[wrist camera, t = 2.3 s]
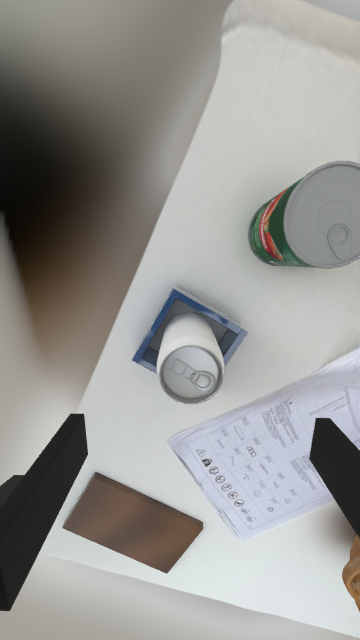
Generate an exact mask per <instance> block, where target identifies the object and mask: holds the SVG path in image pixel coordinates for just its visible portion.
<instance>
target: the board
mask: <svg viewBox="0 0 360 640" xmlns="http://www.w3.org/2000/svg"><path fill="white" fill-rule="evenodd" d="M62 528H64V529H66V530H68V531H70V532H73V533H75V534H77V535H80V536H82V537H84V538H86V539H89V540H91V541H93V542H96V543H98V544H100V545H102V546H105V547H107V548H109V549H112V550H114V551H116V552H118V553H121V554H123V555H125V556H128V557H130V558H132V559H134V560H137V561H139V562H141V563H144V564H146V565H148V566H150V567H153V568H155V569H157V570H160V571H162V572H164V573H166V574H167V573H168V572H169V571H170V569H171V568H172V567H173V566H174V564H175V563H176V562H177V561H178V559H179V558H180V557H181V556H182V554H183V553H184V552H185V551H186V550H187V548H188V547H189V546H190V545H191V543H192V542H193V541H194V540H195V538H196V537H197V536H198V535H199V533H200V532H201V531H202V530H203V523H202V522H200V521H198V520H196V519H194V518H192V517H190V516H187V515H185V514H183V513H181V512H179V511H177V510H175V509H173V508H171V507H168V506H166V505H164V504H162V503H160V502H158V501H156V500H154V499H151V498H149V497H147V496H145V495H143V494H141V493H139V492H137V491H135V490H132V489H130V488H128V487H126V486H124V485H122V484H120V483H118V482H115V481H113V480H111V479H109V478H107V477H105V476H103V475H101V474H99V473H96V472H95V474H94V475H93V477H92V479H91V480H90V482H89V484H88V485H87V487H86V488H85V490H84V492H83V493H82V495H81V497H80V498H79V500H78V501H77V503H76V505H75V506H74V508H73V510H72V511H71V513H70V515H69V516H68V518H67V519H66V521H65V523H64V525H63V527H62Z"/></svg>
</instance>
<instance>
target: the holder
mask: <svg viewBox="0 0 360 640" xmlns="http://www.w3.org/2000/svg"><path fill="white" fill-rule="evenodd" d="M176 298H177V299H179V300H180V301H182V302H184V303H186V304H187V305H189V306H191V307H192V308H194V309H196V310H198V311H199V312H201V313H203V314H204V315H206V316H208V317H210V318H211V319H213V320H215V321H216V322H218V323H220V324H222V325H223V326H225V327H227V328H228V330H227V332H226V333H225V335H224V336H223V338H222V339H221V341H220V342H219V344H218V345H219V348H220V350H221V353H222V356H223V359H224V365H226V364H227V362H228V361H229V359H230V358H231V356H232V355H233V353H234V352H235V350H236V349H237V347H238V346H239V345H240V343H241V342H242V340H243V339H244V337H245V336H246V334H247V333H248V332H247V331H246V329H245V328H244V327H243V326H242V325H241V324H240V323H239V322H237V321H236V320H234V319H232V318H231V317H229V316H227V315H226V314H224V313H222V312H220V311H219V310H217V309H215V308H214V307H212V306H210V305H209V304H207V303H205V302H204V301H202V300H200V299H198V298H197V297H195V296H193V295H192V294H190V293H188V292H187V291H185V290H183V289H181V288H180V287H178V286H176V285H174V287H173V288H172V290H171V292H170V294H169V295H168V297H167V299H166V301H165V302H164V304H163V306H162V308H161V309H160V311H159V313H158V314H157V316H156V318H155V320H154V321H153V323H152V325H151V327H150V328H149V330H148V332H147V333H146V335H145V337H144V339H143V340H142V342H141V344H140V346H139V347H138V349H137V351H136V353H135V355H134V357H133V359H132V361H134V362H136V363H138V364H140V365H142V366H144V367H145V368H147V369H149V370H151V371H153V372H155V373H157V360H158V355H159V352H157V351H155V350H153V349H152V348H150V347H148V345H149V343H150V341H151V340H152V338H153V336H154V335H155V333H156V331H157V330H158V328H159V326H160V324H161V323H162V321H163V319H164V318H165V316H166V314H167V313H168V311H169V309H170V307H171V306H172V304H173V302H174V301H175V299H176Z"/></svg>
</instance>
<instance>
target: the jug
mask: <svg viewBox="0 0 360 640" xmlns="http://www.w3.org/2000/svg"><path fill="white" fill-rule="evenodd" d="M342 578H343V581H344V584H345V586H346V588H347V590H348V592H349V593H350V595H351V596H352V597H353V598H354V599H355V602H356V605H357V607H358V609H359V611H360V538H359V537H358V535H357V534H356V535H355V537H354V541H353V545H352V548H351V550H350V561H349V562H348V563H347V564H346V565H345V567H344V569H343V573H342Z"/></svg>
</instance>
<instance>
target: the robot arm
mask: <svg viewBox="0 0 360 640" xmlns="http://www.w3.org/2000/svg"><path fill="white" fill-rule="evenodd" d="M87 455H88V449H87V439H86V429H85V419H84V414H70V415H69V417H68V418H67V419H66V421H65V422H64V423H63V425H62V426H61V427H60V429H59V430H58V431H57V433H56V434H55V435H54V437H53V438H52V439H51V441H50V442H49V443H48V445H47V446H46V447H45V449H44V450H43V451H42V453H41V454H40V455H39V457H38V458H37V459H36V461H35V462H34V463H33V465H32V466H31V468H30V469H29V470H28V471H27V473H26V474H25V475H14V476H12V477H11V478H10V479H9V480H7V481H6V482H5V483H4V484H3V485H1V486H0V611H10V610H11V608H12V605H13V603H14V601H15V599H16V597H17V596H18V594H19V592H20V589H21V588H22V585H23V584H24V582H25V580H26V577H27V575H28V573H29V571H30V570H31V567H32V566H33V563H34V561H35V560H36V558H37V555H38V554H39V551H40V549H41V547H42V545H43V543H44V541H45V539H46V537H47V535H48V533H49V531H50V529H51V527H52V525H53V523H54V521H55V519H56V517H57V515H58V513H59V511H60V509H61V507H62V505H63V503H64V501H65V499H66V497H67V495H68V493H69V491H70V489H71V487H72V485H73V483H74V481H75V479H76V477H77V475H78V473H79V471H80V469H81V467H82V465H83V463H84V461H85V459H86V457H87ZM309 459H310V461H311V462H312V464H313V466H314V467H315V469H316V470H317V472H318V473H319V475H320V477H321V478H322V480H323V481H324V483H325V485H326V486H327V488H328V489H329V491H330V492H331V494H332V496H333V497H334V499H335V500H336V502H337V504H338V505H339V507H340V508H341V510H342V512H343V513H344V515H345V516H346V518H347V519H348V521H349V523H350V524H351V526H352V527H353V529H354V531H355V532H356V534H357V535H358V537H359V538H360V450H359V449H358V448H357V447H356V446H355V445H354V444H353V443H352V442H351V441H350V440H349V439H348V437H347V436H346V435H345V434H344V433H343V432H342V431H341V430H340V429H339V428H338V427H337V426H336V424H335V423H334V422H333V421H332V420H331V419H330V418H316V421H315V427H314V433H313V439H312V445H311V452H310V458H309Z"/></svg>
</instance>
